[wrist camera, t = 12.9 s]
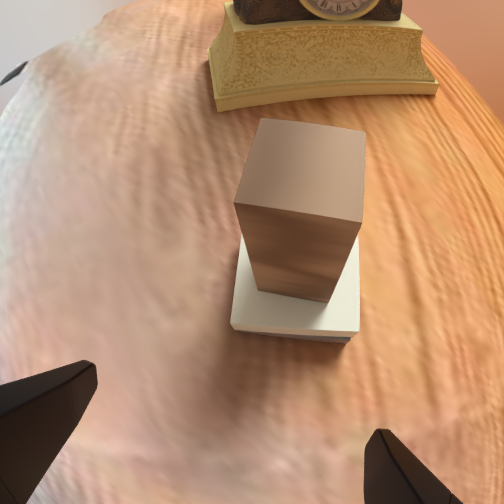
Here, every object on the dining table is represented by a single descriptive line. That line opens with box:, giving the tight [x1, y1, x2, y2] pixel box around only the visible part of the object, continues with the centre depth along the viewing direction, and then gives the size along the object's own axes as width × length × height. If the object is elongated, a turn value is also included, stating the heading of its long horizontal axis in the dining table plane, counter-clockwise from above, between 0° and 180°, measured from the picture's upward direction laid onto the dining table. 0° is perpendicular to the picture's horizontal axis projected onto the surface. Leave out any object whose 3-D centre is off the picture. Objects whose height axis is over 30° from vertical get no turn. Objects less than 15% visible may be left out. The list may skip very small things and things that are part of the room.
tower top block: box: [230, 235, 360, 337], centre depth 22 cm, size 8×8×2 cm
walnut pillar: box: [234, 118, 366, 303], centre depth 16 cm, size 4×4×10 cm
